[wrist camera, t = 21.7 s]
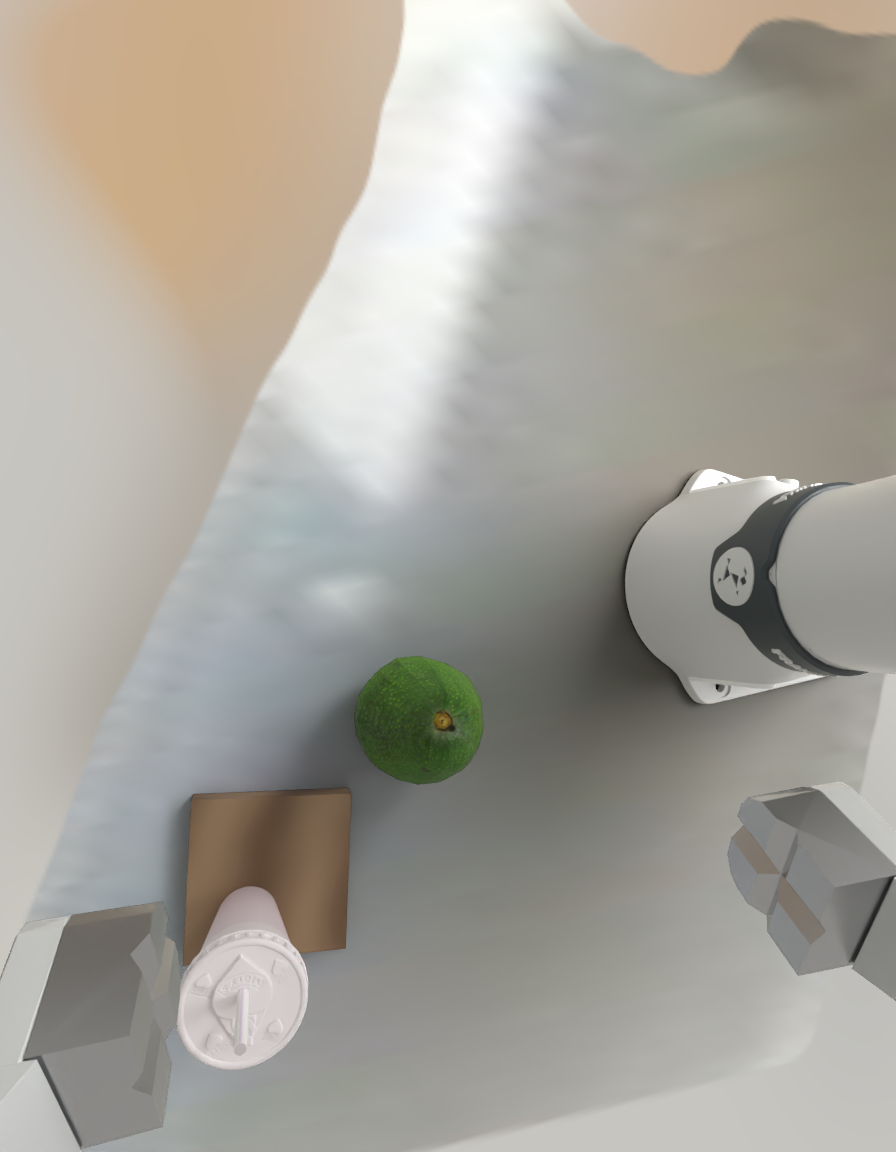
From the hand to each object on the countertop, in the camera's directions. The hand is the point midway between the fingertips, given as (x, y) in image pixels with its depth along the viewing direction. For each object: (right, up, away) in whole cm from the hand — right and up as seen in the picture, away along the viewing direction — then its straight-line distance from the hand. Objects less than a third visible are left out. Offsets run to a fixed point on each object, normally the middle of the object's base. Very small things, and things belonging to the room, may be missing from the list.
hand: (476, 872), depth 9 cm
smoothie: (-13, -17, +33) cm, 40 cm away
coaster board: (-12, -15, +35) cm, 40 cm away
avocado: (-4, -5, +38) cm, 38 cm away
